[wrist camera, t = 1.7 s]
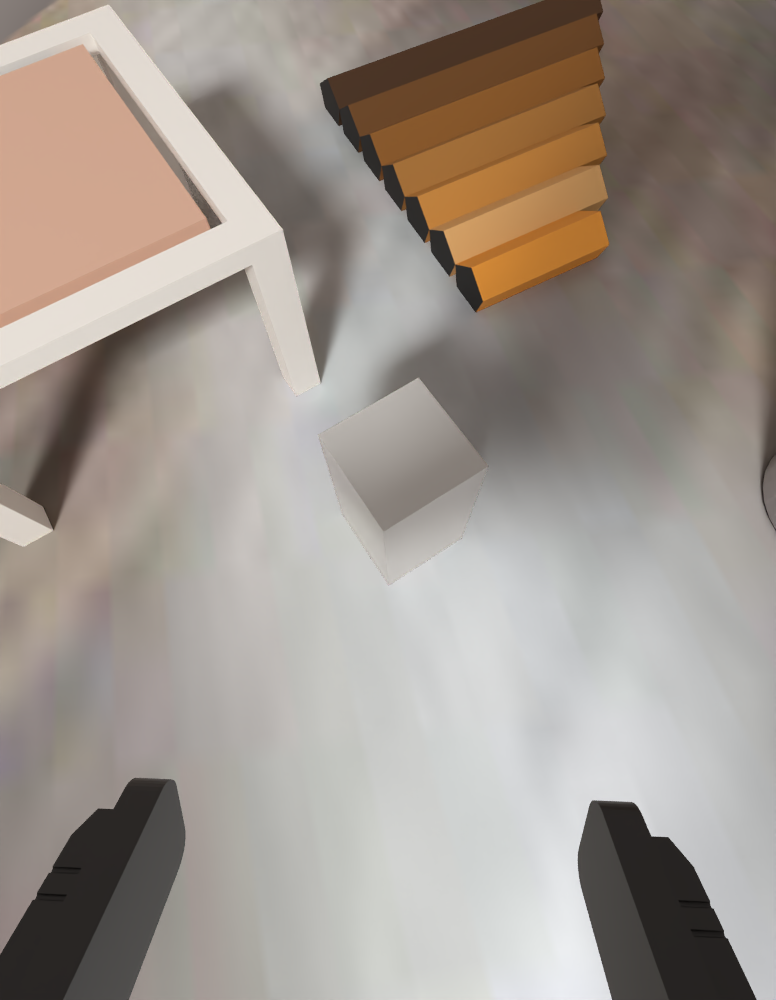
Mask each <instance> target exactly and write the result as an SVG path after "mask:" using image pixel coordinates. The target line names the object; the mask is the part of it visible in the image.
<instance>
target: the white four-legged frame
mask: <svg viewBox="0 0 776 1000" xmlns="http://www.w3.org/2000/svg"><path fill="white" fill-rule="evenodd" d="M82 44H83V45H84V46H85V48H86V49H87V51H88V52H89V54H90V55H91V56H92V57H93V56H96V55H97V57H98V60H99V62H100V64H101V66H102V68H103V70H104V72H105V74H106V77H107V79H108V80H109V82H110V83H111V85H112V86H113V87H114V89H115V90H116V92H117V93H118V94H119V96H120V97H121V99H122V100H123V101H124V103H125V104H126V106H127V107H128V108H129V110H130V111H131V113H132V114H133V116H134V117H135V118H136V120H137V121H138V123H139V124H140V125H141V127H142V128H143V130H144V131H145V132H146V134H147V135H148V137H149V138H150V139H151V141H152V142H153V144H154V145H155V147H156V148H157V149H158V151H159V152H160V154H161V155H162V156H163V158H164V159H165V161H166V162H167V163H168V165H169V166H170V168H171V169H172V171H173V172H174V173H175V175H176V176H177V178H178V179H179V180H180V182H181V183H182V185H183V186H184V187H185V189H186V190H187V192H188V193H189V194H190V196H191V197H192V199H193V200H194V198H193V195H192V193H191V190H190V188H189V185H188V183H187V181H186V178H185V176H184V173H183V171H182V168H183V170H184V171H185V172H186V174H187V175H188V176H189V178H190V179H191V181H192V182H193V183H194V185H195V186H196V188H197V189H198V190H199V192H200V193H201V194H202V196H203V197H204V199H205V200H206V201H207V203H208V204H209V206H210V207H211V208H212V210H213V211H214V213H215V214H216V215H217V217H218V218H219V219H220V221H221V222H222V224H220V225H218V226H216V227H214V228H212V229H210V230H208V231H206V232H204V233H201V234H199V235H197V236H195V237H193V238H191V239H189V240H187V241H184V242H182V243H180V244H178V245H176V246H174V247H172V248H170V249H167V250H165V251H163V252H161V253H159V254H157V255H155V256H153V257H150V258H148V259H146V260H144V261H142V262H140V263H138V264H136V265H134V266H131V267H129V268H127V269H125V270H123V271H121V272H119V273H117V274H114V275H112V276H110V277H108V278H106V279H104V280H102V281H100V282H97V283H95V284H93V285H91V286H89V287H87V288H85V289H83V290H81V291H78V292H76V293H74V294H72V295H70V296H68V297H66V298H64V299H61V300H59V301H57V302H55V303H53V304H51V305H49V306H47V307H44V308H42V309H40V310H38V311H36V312H34V313H32V314H30V315H27V316H25V317H23V318H21V319H19V320H17V321H15V322H13V323H11V324H8V325H6V326H4V327H2V328H0V389H1V388H3V387H5V386H7V385H9V384H11V383H13V382H15V381H17V380H19V379H21V378H23V377H25V376H27V375H29V374H31V373H33V372H35V371H37V370H40V369H42V368H44V367H46V366H48V365H50V364H52V363H54V362H56V361H58V360H60V359H62V358H64V357H66V356H68V355H70V354H72V353H74V352H76V351H78V350H80V349H82V348H84V347H86V346H88V345H90V344H92V343H94V342H96V341H98V340H100V339H102V338H105V337H107V336H109V335H111V334H113V333H115V332H117V331H119V330H121V329H123V328H125V327H127V326H129V325H131V324H133V323H135V322H137V321H139V320H141V319H143V318H145V317H147V316H149V315H151V314H153V313H155V312H157V311H159V310H161V309H163V308H165V307H167V306H170V305H172V304H174V303H176V302H178V301H180V300H182V299H184V298H186V297H188V296H190V295H192V294H194V293H196V292H198V291H200V290H202V289H204V288H206V287H208V286H210V285H212V284H214V283H216V282H218V281H220V280H222V279H224V278H226V277H228V276H230V275H232V274H235V273H237V272H239V271H241V270H243V269H245V272H246V274H247V277H248V280H249V283H250V286H251V288H252V291H253V294H254V297H255V300H256V302H257V305H258V308H259V311H260V314H261V316H262V319H263V322H264V325H265V328H266V330H267V333H268V336H269V339H270V342H271V344H272V347H273V350H274V353H275V356H276V358H277V361H278V364H279V367H280V370H281V372H282V375H283V377H284V379H285V380H286V382H287V383H288V385H289V386H290V388H291V389H292V391H293V392H294V394H295V395H296V397H297V396H299V395H300V394H302V393H304V392H306V391H308V390H309V389H311V388H313V387H315V386H317V385H319V384H320V383H321V382H320V378H319V374H318V370H317V366H316V362H315V358H314V354H313V350H312V346H311V342H310V338H309V334H308V330H307V326H306V322H305V318H304V313H303V309H302V305H301V301H300V297H299V293H298V289H297V285H296V281H295V277H294V273H293V269H292V265H291V261H290V257H289V253H288V249H287V245H286V241H285V237H284V233H283V229H282V228H281V226H280V225H279V224H278V223H277V221H276V220H275V219H274V217H273V216H272V215H271V214H270V212H269V211H268V210H267V208H266V207H265V206H264V204H263V203H262V202H261V201H260V199H259V198H258V197H257V195H256V194H255V193H254V192H253V190H252V189H251V188H250V186H249V185H248V184H247V183H246V181H245V180H244V179H243V177H242V176H241V175H240V173H239V172H238V171H237V170H236V168H235V167H234V166H233V164H232V163H231V162H230V161H229V159H228V158H227V157H226V155H225V154H224V153H223V152H222V150H221V149H220V148H219V146H218V145H217V144H216V142H215V141H214V140H213V139H212V137H211V136H210V135H209V133H208V132H207V131H206V130H205V128H204V127H203V126H202V124H201V123H200V122H199V120H198V119H197V118H196V117H195V115H194V114H193V113H192V111H191V110H190V109H189V108H188V106H187V105H186V104H185V102H184V101H183V100H182V99H181V97H180V96H179V95H178V93H177V92H176V91H175V89H174V88H173V87H172V86H171V84H170V83H169V82H168V80H167V79H166V78H165V77H164V75H163V74H162V73H161V71H160V70H159V69H158V67H157V66H156V65H155V64H154V62H153V61H152V60H151V58H150V57H149V56H148V55H147V53H146V52H145V51H144V49H143V48H142V47H141V46H140V44H139V43H138V42H137V40H136V39H135V38H134V36H133V35H132V34H131V33H130V31H129V30H128V29H127V27H126V26H125V25H124V24H123V22H122V21H121V20H120V18H119V17H118V16H117V14H116V13H115V12H114V11H113V9H112V8H111V7H110V5H106V6H103V7H101V8H98V9H95V10H93V11H90V12H87V13H85V14H82V15H79V16H77V17H74V18H71V19H69V20H66V21H63V22H61V23H58V24H55V25H53V26H50V27H47V28H45V29H42V30H39V31H37V32H34V33H31V34H29V35H26V36H23V37H21V38H18V39H15V40H12V41H10V42H7V43H4V44H2V45H0V76H1V75H4V74H6V73H9V72H11V71H14V70H17V69H19V68H22V67H24V66H27V65H30V64H32V63H35V62H37V61H40V60H43V59H45V58H48V57H50V56H53V55H56V54H58V53H61V52H63V51H66V50H69V49H71V48H74V47H76V46H79V45H82ZM180 165H181V166H180ZM181 167H182V168H181ZM194 202H195V200H194ZM52 531H53V528H52V526H51V524H50V522H49V519H48V517H47V515H46V512H45V510H44V508H43V506H41V505H39V504H37V503H36V502H34V501H32V500H30V499H28V498H27V497H25V496H23V495H21V494H19V493H18V492H16V491H14V490H12V489H10V488H9V487H7V486H5V485H3V484H1V483H0V537H2V538H4V539H7V540H9V541H11V542H14V543H16V544H18V545H21V546H23V547H25V546H26V545H28V544H30V543H32V542H34V541H35V540H37V539H39V538H41V537H43V536H44V535H46V534H48V533H50V532H52Z"/></svg>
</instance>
